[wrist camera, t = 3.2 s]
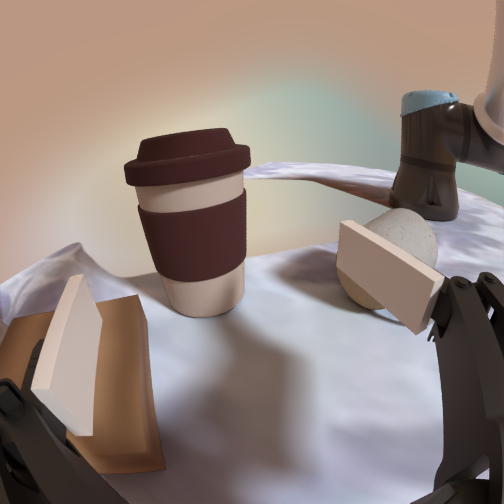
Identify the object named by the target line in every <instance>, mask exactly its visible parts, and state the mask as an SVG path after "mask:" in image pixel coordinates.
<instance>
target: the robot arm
mask: <svg viewBox="0 0 504 504" xmlns="http://www.w3.org/2000/svg"><path fill="white" fill-rule="evenodd" d="M458 101H459V99H458V98H457V95H455V94H454V93H449V92H444V91H431V90H429V91H427V90H426V91H414V92H409V93H407V94H405V95H404V96H403V98H402V110H401V115H400V116H401V117H402V135H401V160H400V167H399V170H398V172H397V174H396V177H395V180H394V183H393V186H392V187H391V189H390V194H389V203H390V204H391V205H392V206H393V207H395V208H404V209H409V210H411V211H414V212H416V213H417V214H419V215H420V216H421V217H422V218H425V219H430V220H438V221H449V220H454V219H456V218H457V214H458V209H459V203H458V194H457V187H456V181H455V168H456V162H462V163H466V164H470V165H474V166H477V167H481V168H485V169H488V170H492V171H495V172H498V173H499V174H502V175H504V0H496V21H495V34H494V44H493V51H492V58H491V65H490V71H489V76H488V81H487V86H486V90H485V93H481V94H479V95H478V96H477V97H476V99H475V101H474V105H473V106H471V105H467V104H463V103H459V102H458ZM336 267H338V268H339V269H340V270H341V271H342V272H344V273H345V274H346V275H347V276H348V277H350V278H351V279H352V280H353V281H354V282H356V283H357V284H358V285H359V286H360V287H361V288H363V289H364V290H365V291H366V292H367V293H369V294H370V295H371V296H372V297H373V298H374V299H376V300H377V301H378V302H379V303H380V304H381V305H382V306H384V307H385V308H386V309H387V310H388V311H389V312H390V313H392V314H393V315H394V316H395V317H396V318H397V319H398V320H400V321H401V322H402V323H403V324H404V325H405V326H406V327H407V328H408V329H410V330H411V331H412V332H413V333H414V334H415V335H417V334H419V333H420V332H422V331H424V330H425V329H426V328H427V326H428V323H429V321H430V318H431V319H433V320H434V321H435V322H434V324H433V327H432V329H431V331H430V334H429V336H428V340H427V341H430V339H431V337H432V336H433V335H434V339H433V341H432V342H435V344H436V350H437V357H438V364H439V372H440V380H441V391H442V404H443V426H444V449H443V459H442V462H441V464H440V466H439V468H438V470H437V472H436V475H435V480H434V489H433V492H432V493H430V494H428V495H426V496H424V497H422V498H420V499H418V500H416V501H414V502H412V503H410V504H504V285H503V284H502V282H501V281H500V280H499V279H498V278H497V277H496V276H494V275H493V274H492V273H489V272H482V273H480V274H479V277H478V280H477V282H475V283H472V282H471V281H469V280H468V279H466V278H464V277H460V276H454V277H451V279H449V278H447V277H446V276H444V275H443V274H441V273H439V272H438V271H436V270H435V269H433V268H432V267H430V266H428V265H427V264H426V263H424V262H422V261H421V260H419V259H418V258H416V257H414V256H412V255H410V254H409V253H407V252H405V251H404V250H402V249H401V248H399V247H397V246H396V245H394V244H392V243H391V242H389V241H387V240H385V239H384V238H382V237H380V236H379V235H377V234H375V233H373V232H372V231H370V230H368V229H366V228H365V227H363V226H361V225H359V224H357V223H356V222H354V221H352V220H348V221H342V222H340V230H339V242H338V254H337V264H336ZM491 306H492V308H493V309H494V312H493V315H492V317H491V319H490V320H489V318H488V313H489V311H490V308H491ZM102 321H103V320H102V318H101V315H100V313H99V311H98V308H97V306H96V304H95V301H94V299H93V296H92V294H91V291H90V289H89V286H88V284H87V281H86V278H85V276H84V273H83V274H79V275H74V276H70V278H69V280H68V282H67V284H66V286H65V289H64V291H63V293H62V296H61V298H60V301H59V303H58V305H57V308H56V310H55V313H54V316H53V318H52V321H51V324H50V326H49V329H48V332H47V335H46V338H45V339H40V340H39V341H38V342H37V344H36V345H35V346H34V348H33V350H32V353H31V356H30V360H29V362H28V365H27V367H28V368H27V369H26V372H25V375H24V379H23V383H22V386H21V390H20V389H19V388H18V387H17V386H16V384H15V383H14V382H13V381H12V379H9V378H3V379H1V380H0V504H129V503H128V502H127V501H126V500H125V499H124V498H123V497H121V496H120V495H119V494H118V493H117V492H116V491H115V490H114V489H113V488H112V487H111V486H110V485H109V484H108V483H107V482H106V481H105V480H104V479H103V478H102V477H101V476H100V475H99V474H98V473H97V472H96V470H95V469H94V468H93V467H92V466H91V465H90V464H89V463H88V461H87V460H86V459H85V458H84V457H83V456H82V454H81V453H80V452H79V451H78V450H77V448H76V447H75V446H74V445H73V443H72V442H71V441H70V440H69V439H68V438H67V437H66V432H67V429H68V430H69V431H70V432H71V433H72V434H74V435H75V436H93V406H94V389H95V376H96V366H97V357H98V348H99V341H100V334H101V327H102ZM7 467H8V468H7ZM488 468H489V480H488V479H475V478H476V477H477V476H478V475H479V474H481V473H482V472H484V471H485V470H487V469H488Z"/></svg>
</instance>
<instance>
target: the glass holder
mask: <svg viewBox="0 0 504 504" xmlns="http://www.w3.org/2000/svg"><path fill="white" fill-rule="evenodd" d="M7 330H8V328H7V326H6V325H5V324H4V323H3V322H1V321H0V345H1V343H2V341H3V338H4V336H5V334H6V332H7Z"/></svg>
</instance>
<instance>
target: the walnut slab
mask: <svg viewBox="0 0 504 504" xmlns="http://www.w3.org/2000/svg"><path fill="white" fill-rule="evenodd" d="M95 304H96V306H97V308H98V311H99V313H100V315H101V318H102V320H103V321H102V327H101V334H100V341H99V348H98V357H97V366H96V376H95V389H94V406H93V436H75V435H74V434H72V433H71V432H70V431H69V430H68V429H67V432H66V437H67V438H68V439H69V440H70V441H71V442H72V443H73V445H74V446H75V447H76V448H77V450H78V451H79V452H80V453H81V454H82V456H83V457H84V458H85V459H86V460H87V461H88V463H89V464H90V465H91V466H92V467H93V468H94V469H95V470H96V472H97V473H98V474H124V473H139V472H150V471H159V470H166V469H165V464H164V460H163V455H162V450H161V444H160V439H159V433H158V427H157V420H156V413H155V406H154V398H153V390H152V381H151V370H150V359H149V345H148V326H147V319H146V317H145V314H144V311H143V308H142V305H141V302H140V299H139V296H138V294H137V295H133V296H128V297H123V298H118V299H113V300H108V301H103V302H98V303H95ZM54 313H55V311H52V312H46V313H41V314H35V315H30V316H25V317H19V318H13V320H12V322H11V324H10V326H9V328H8V330H7V332H6V334H5V336H4V338H3V341H2V343H1V345H0V380H1V379H3V378H9V379H12V381H13V382H14V383H15V384H16V386H17V387H18V388H19V389H20V390H21V386H22V383H23V379H24V375H25V372H26V369H27V368H28V367H27V365H28V362H29V360H30V356H31V353H32V350H33V348H34V346H35V345H36V344H37V342H38V341H39V340H40V339H45V338H46V335H47V332H48V329H49V326H50V324H51V321H52V318H53V316H54Z"/></svg>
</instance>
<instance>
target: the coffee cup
mask: <svg viewBox="0 0 504 504" xmlns="http://www.w3.org/2000/svg"><path fill="white" fill-rule="evenodd" d="M250 164H251V158H250V148H249V147H248V146H247V145H239V144H235V142H234V141H233V139H232V137H231V135H230V133H229V131H228V129H226V128H214V129H204V130H196V131H188V132H181V133H174V134H169V135H162V136H157V137H152V138H148V139H144V140H142V141H141V143H140V147H139V151H138V155H137V159H135V160H132V161H130V162H128V163H126V164H125V165H124V171H125V178H126V183H127V184H128V185H130V186H135V189H136V193H137V197H138V201H139V205H138V212H139V216H140V219H141V222H142V226H143V229H144V233H145V236H146V240H147V243H148V246H149V249H150V253H151V256H152V259H153V262H154V265H155V268H156V270H157V271H158V273H159V274H160V275H161V278H162V281H163V284H164V287H165V290H166V293H167V295H168V298H169V301H170V303H171V305H172V306H173V308H174V309H175V310H177V311H178V312H180V313H181V314H183V315H186V316H190V317H197V318H203V317H212V316H217V315H220V314H222V313H225V312H227V311H229V310H230V309H232V308H233V307H235V306H236V305H237V304H238V303H239V302H240V300H241V299H242V297H243V294H244V259H245V257H246V190H245V188H243V170H244V169H246V168H248V167H249V166H250Z"/></svg>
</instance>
